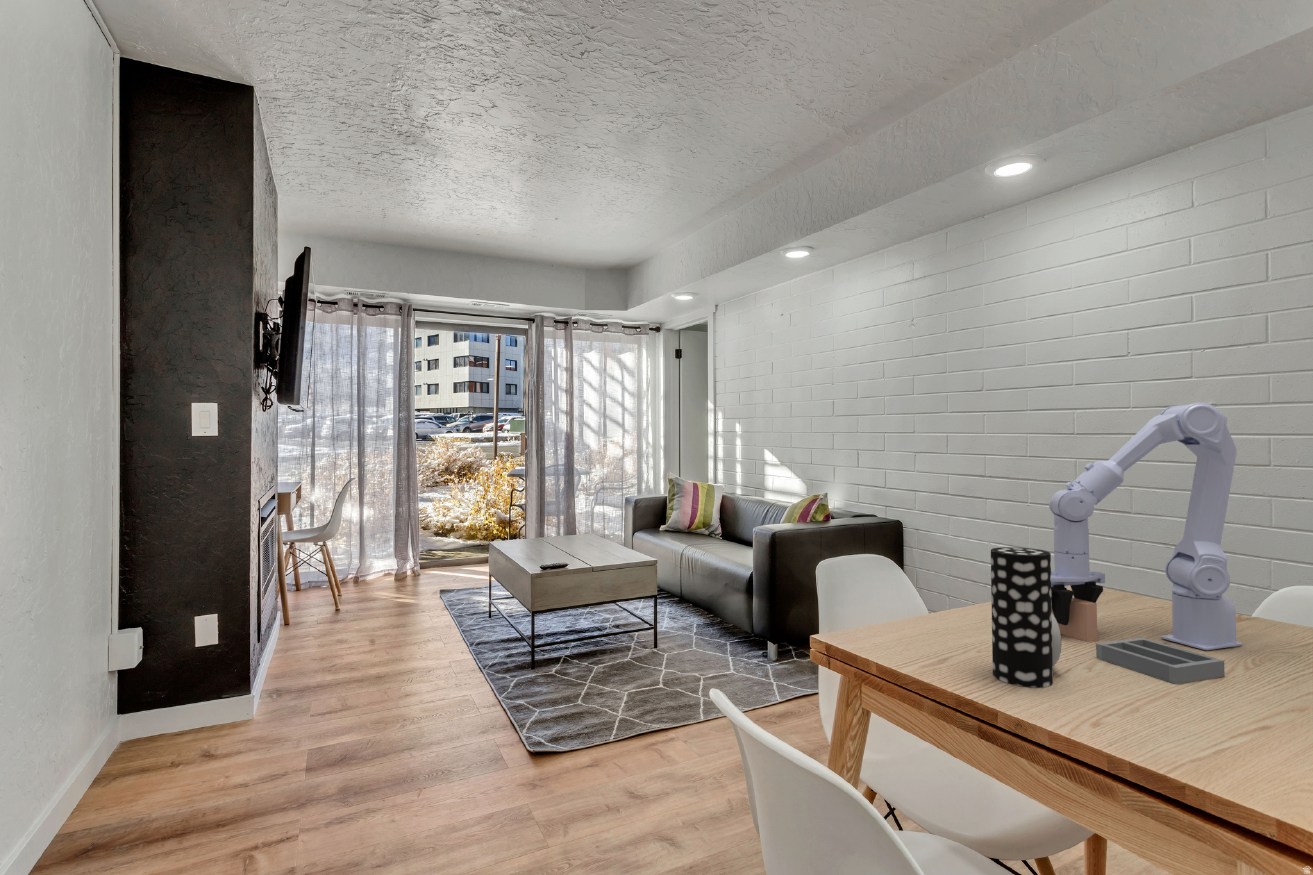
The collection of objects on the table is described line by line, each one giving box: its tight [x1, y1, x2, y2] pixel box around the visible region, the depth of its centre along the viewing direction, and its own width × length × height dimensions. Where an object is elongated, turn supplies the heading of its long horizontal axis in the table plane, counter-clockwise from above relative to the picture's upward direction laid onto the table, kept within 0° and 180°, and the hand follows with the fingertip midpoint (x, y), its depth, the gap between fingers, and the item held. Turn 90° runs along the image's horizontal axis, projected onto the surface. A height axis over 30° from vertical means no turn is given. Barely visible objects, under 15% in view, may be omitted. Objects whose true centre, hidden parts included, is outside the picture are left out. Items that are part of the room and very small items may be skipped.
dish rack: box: [1095, 637, 1225, 685], centre depth 107 cm, size 11×13×2 cm
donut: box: [1052, 614, 1062, 667], centre depth 108 cm, size 10×4×10 cm, turn 170°
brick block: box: [1052, 597, 1098, 643], centre depth 125 cm, size 2×8×7 cm, turn 17°
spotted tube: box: [990, 546, 1054, 689], centre depth 103 cm, size 8×8×20 cm
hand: (1072, 622), depth 125 cm, fingers open, 5 cm apart
